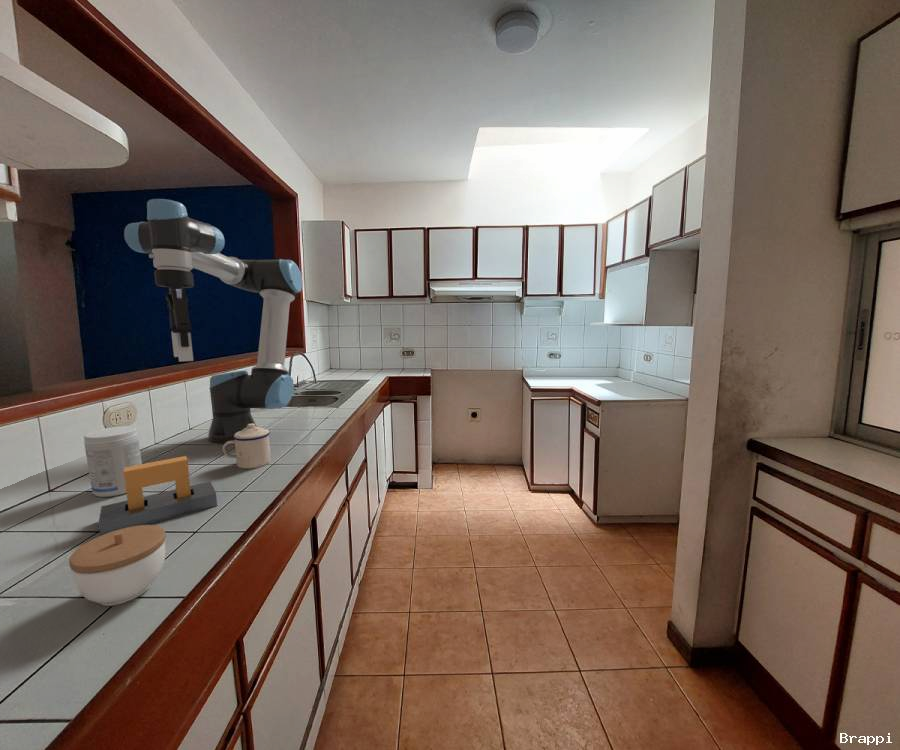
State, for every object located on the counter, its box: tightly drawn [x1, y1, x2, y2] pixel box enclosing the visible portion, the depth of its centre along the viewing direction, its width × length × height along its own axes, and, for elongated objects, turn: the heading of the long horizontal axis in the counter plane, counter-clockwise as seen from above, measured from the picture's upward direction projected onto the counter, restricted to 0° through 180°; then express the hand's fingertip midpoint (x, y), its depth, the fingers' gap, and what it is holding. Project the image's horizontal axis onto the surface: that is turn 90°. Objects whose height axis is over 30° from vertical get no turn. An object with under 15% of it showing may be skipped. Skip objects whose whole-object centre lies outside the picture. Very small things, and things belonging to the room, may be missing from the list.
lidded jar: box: [68, 524, 167, 607], centre depth 56 cm, size 11×11×9 cm
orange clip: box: [124, 455, 191, 510], centre depth 79 cm, size 10×3×11 cm, turn 130°
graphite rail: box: [98, 480, 218, 536], centre depth 80 cm, size 8×19×3 cm, turn 130°
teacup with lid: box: [222, 423, 271, 470], centre depth 107 cm, size 12×9×12 cm
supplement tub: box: [83, 425, 143, 498], centre depth 90 cm, size 10×10×15 cm
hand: (183, 358), depth 92 cm, fingers open, 13 cm apart
